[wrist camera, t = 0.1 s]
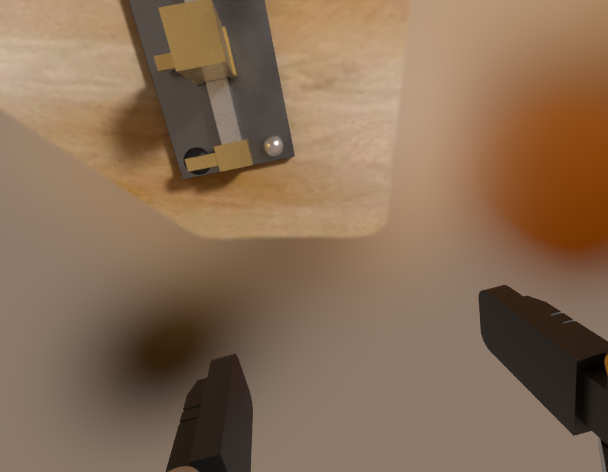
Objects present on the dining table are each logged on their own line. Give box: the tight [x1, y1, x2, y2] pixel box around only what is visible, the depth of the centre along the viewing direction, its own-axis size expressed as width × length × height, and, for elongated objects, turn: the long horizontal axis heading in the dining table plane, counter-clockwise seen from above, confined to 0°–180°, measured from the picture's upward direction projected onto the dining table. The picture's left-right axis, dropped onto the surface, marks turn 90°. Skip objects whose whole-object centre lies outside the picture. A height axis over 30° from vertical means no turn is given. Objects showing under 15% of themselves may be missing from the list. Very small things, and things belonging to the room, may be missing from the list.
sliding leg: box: [154, 0, 238, 85], centre depth 29 cm, size 4×7×10 cm, turn 101°
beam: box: [184, 0, 253, 172], centre depth 32 cm, size 25×6×3 cm, turn 11°
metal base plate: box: [129, 0, 295, 179], centre depth 33 cm, size 26×12×2 cm, turn 11°
